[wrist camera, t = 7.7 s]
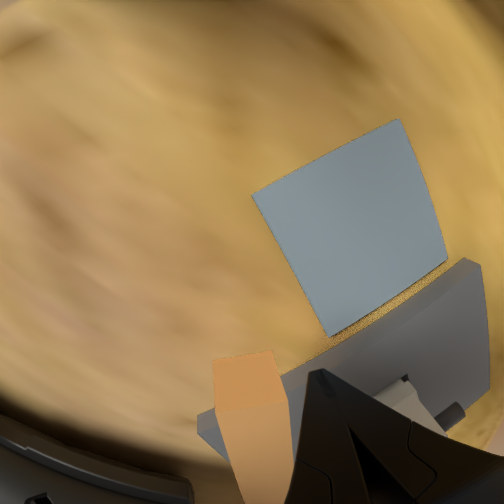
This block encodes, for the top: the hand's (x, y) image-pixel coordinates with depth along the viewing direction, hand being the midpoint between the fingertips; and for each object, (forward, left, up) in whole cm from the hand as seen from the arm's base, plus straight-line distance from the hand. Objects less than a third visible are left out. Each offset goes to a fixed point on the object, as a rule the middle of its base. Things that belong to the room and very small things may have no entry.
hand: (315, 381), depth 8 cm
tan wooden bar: (-5, +4, 0) cm, 6 cm away
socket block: (-11, -2, -7) cm, 13 cm away
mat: (0, -5, -7) cm, 9 cm away
